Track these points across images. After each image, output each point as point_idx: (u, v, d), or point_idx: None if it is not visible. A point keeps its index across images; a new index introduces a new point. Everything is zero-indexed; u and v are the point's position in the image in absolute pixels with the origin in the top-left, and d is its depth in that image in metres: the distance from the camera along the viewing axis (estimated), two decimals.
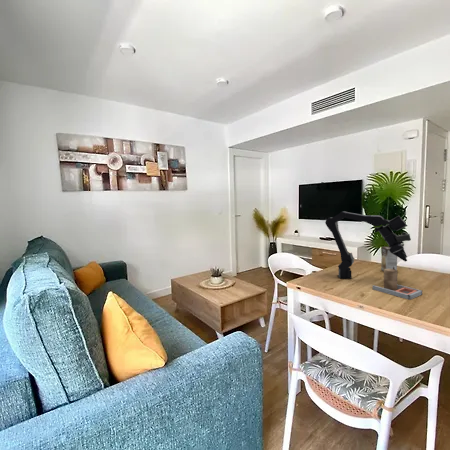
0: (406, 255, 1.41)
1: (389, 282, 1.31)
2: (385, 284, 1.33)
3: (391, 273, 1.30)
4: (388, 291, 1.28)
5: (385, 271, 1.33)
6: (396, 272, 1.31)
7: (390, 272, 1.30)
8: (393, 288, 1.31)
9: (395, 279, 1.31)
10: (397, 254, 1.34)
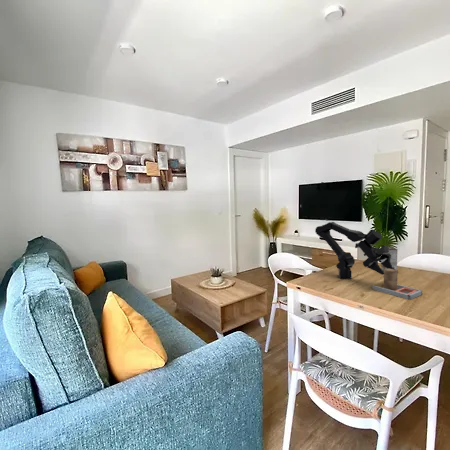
0: None
1: (389, 282, 1.31)
2: (385, 284, 1.33)
3: (391, 273, 1.30)
4: (388, 291, 1.28)
5: (385, 271, 1.33)
6: (396, 272, 1.31)
7: (390, 272, 1.30)
8: (393, 288, 1.31)
9: (395, 279, 1.31)
10: (373, 268, 1.34)
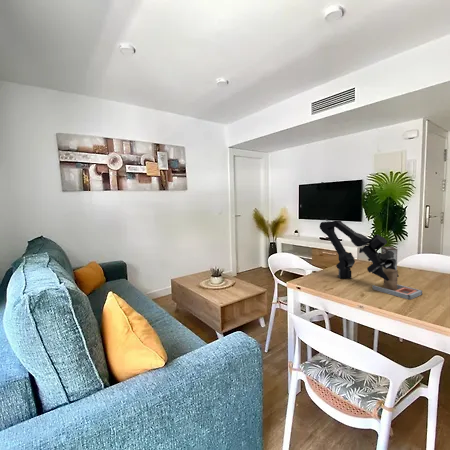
0: None
1: (389, 282, 1.31)
2: (385, 284, 1.33)
3: (391, 273, 1.30)
4: (388, 291, 1.28)
5: (385, 271, 1.33)
6: (396, 272, 1.31)
7: (390, 272, 1.30)
8: (393, 288, 1.31)
9: (395, 279, 1.31)
10: (377, 273, 1.32)
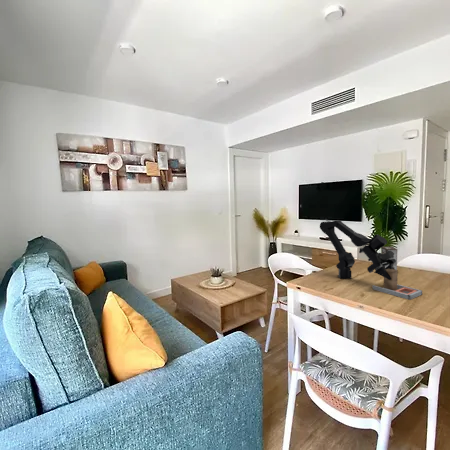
0: None
1: (389, 282, 1.31)
2: (385, 284, 1.33)
3: (391, 273, 1.30)
4: (388, 291, 1.28)
5: None
6: (396, 272, 1.31)
7: (390, 272, 1.30)
8: (393, 288, 1.31)
9: (395, 279, 1.31)
10: (380, 273, 1.33)
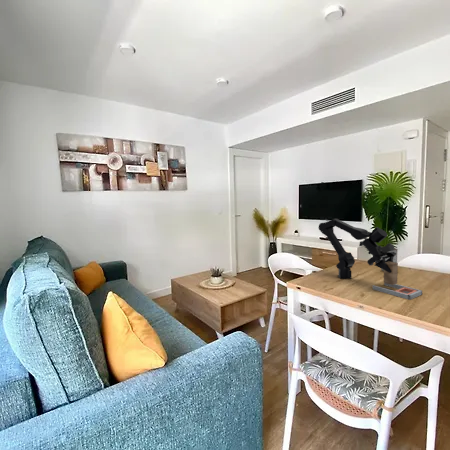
0: None
1: (389, 275, 1.31)
2: (385, 277, 1.33)
3: (391, 266, 1.30)
4: (388, 291, 1.28)
5: None
6: (396, 265, 1.31)
7: (390, 265, 1.30)
8: (393, 281, 1.30)
9: (395, 272, 1.31)
10: (380, 265, 1.33)
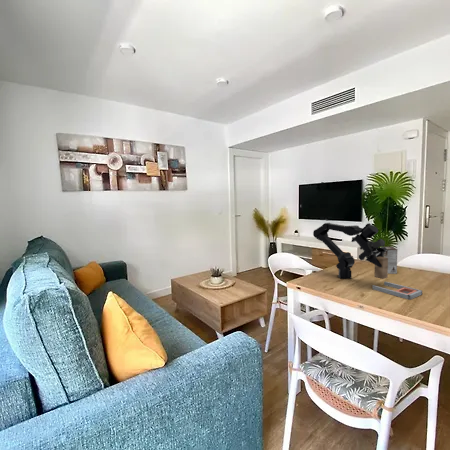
0: None
1: (380, 269, 1.35)
2: (376, 271, 1.37)
3: (381, 260, 1.34)
4: (388, 291, 1.28)
5: None
6: (386, 260, 1.35)
7: (381, 259, 1.34)
8: (383, 275, 1.34)
9: (385, 266, 1.35)
10: (371, 260, 1.37)
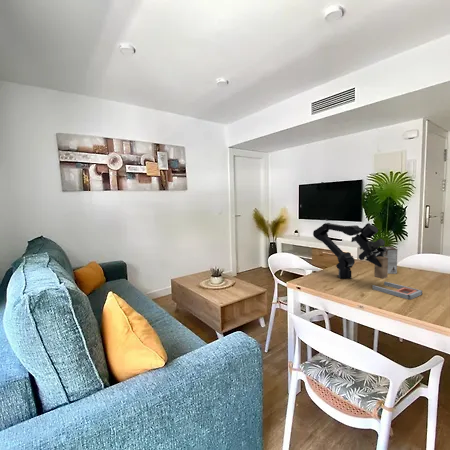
0: None
1: (380, 269, 1.35)
2: (376, 271, 1.37)
3: (381, 260, 1.34)
4: (388, 291, 1.28)
5: None
6: (386, 259, 1.35)
7: (380, 259, 1.34)
8: (383, 275, 1.34)
9: (385, 266, 1.35)
10: (371, 260, 1.37)
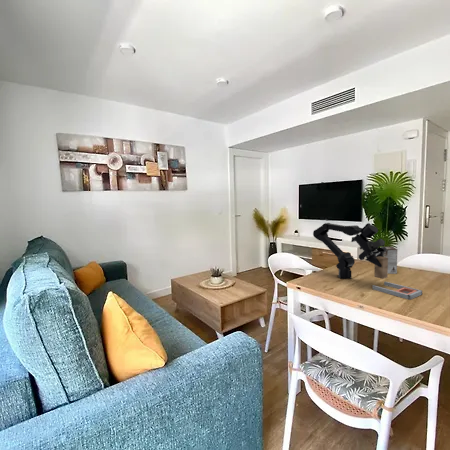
0: None
1: (380, 269, 1.35)
2: (376, 271, 1.37)
3: (381, 260, 1.34)
4: (388, 291, 1.28)
5: None
6: (386, 259, 1.35)
7: (380, 259, 1.34)
8: (383, 275, 1.34)
9: (385, 266, 1.35)
10: (371, 260, 1.37)
